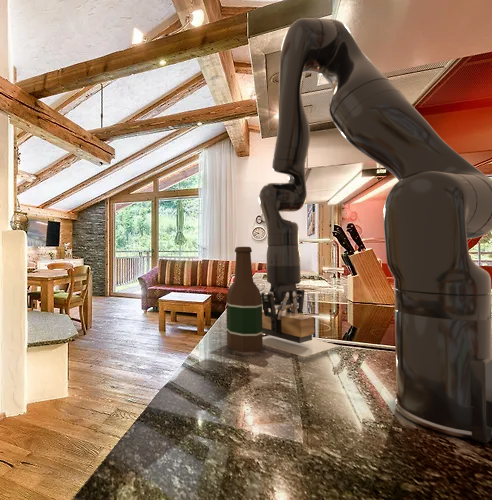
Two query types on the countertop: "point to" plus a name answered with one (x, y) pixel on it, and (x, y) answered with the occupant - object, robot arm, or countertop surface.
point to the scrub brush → (291, 326)
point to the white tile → (298, 345)
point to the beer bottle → (244, 307)
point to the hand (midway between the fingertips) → (284, 332)
